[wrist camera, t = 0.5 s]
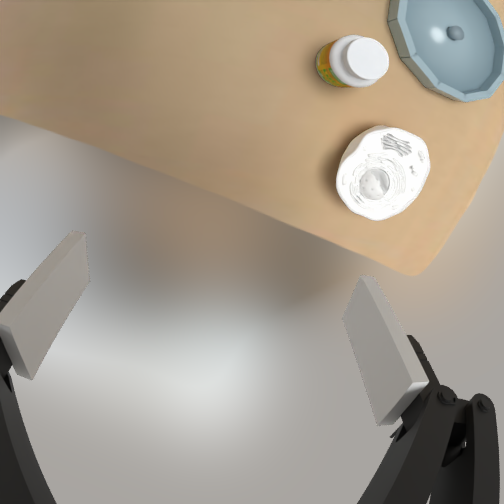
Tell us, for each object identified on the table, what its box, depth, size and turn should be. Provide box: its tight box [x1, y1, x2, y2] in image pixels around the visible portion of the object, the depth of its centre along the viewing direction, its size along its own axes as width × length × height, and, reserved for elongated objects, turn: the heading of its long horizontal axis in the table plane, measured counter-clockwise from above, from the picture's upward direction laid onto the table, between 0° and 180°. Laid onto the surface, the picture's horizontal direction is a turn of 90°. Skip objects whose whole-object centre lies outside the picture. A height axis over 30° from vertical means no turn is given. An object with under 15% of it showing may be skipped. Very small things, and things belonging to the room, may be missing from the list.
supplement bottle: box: [316, 35, 389, 87], centre depth 26 cm, size 5×5×10 cm
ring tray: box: [387, 0, 504, 102], centre depth 26 cm, size 18×18×3 cm
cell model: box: [336, 125, 430, 221], centre depth 33 cm, size 10×12×7 cm
